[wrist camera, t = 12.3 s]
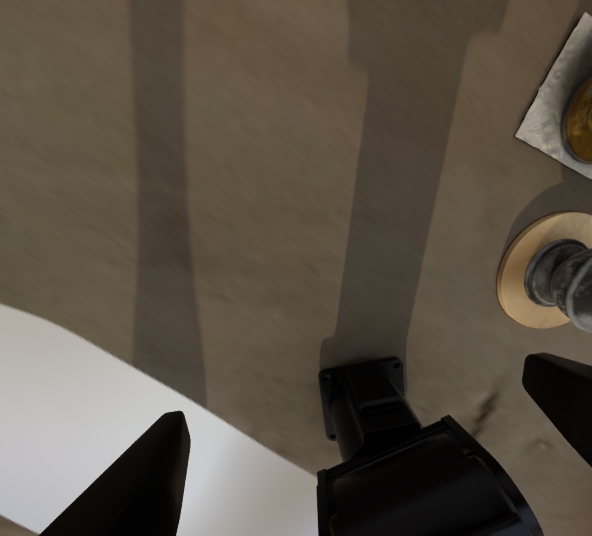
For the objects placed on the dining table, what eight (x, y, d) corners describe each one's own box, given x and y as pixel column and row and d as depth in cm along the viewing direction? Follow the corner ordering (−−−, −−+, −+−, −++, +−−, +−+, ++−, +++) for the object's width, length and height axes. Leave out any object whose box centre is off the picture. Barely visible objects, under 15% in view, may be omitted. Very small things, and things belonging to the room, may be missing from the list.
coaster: (597, 315, 24) (604, 317, 23) (493, 334, 23) (497, 337, 23) (617, 202, 21) (626, 203, 21) (500, 221, 21) (505, 222, 20)
